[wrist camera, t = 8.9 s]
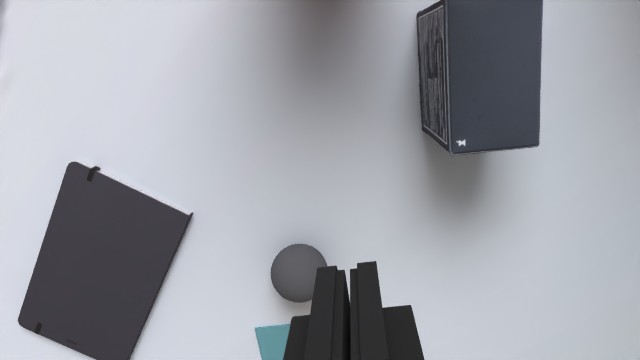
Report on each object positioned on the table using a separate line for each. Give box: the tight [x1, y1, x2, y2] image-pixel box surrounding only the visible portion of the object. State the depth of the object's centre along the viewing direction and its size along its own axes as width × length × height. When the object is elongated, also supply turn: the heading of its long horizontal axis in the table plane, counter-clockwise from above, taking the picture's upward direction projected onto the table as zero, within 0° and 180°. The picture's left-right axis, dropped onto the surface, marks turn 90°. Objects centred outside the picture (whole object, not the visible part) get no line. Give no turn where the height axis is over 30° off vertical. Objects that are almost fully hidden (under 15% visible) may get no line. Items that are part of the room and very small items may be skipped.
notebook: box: [18, 162, 193, 360], centre depth 45 cm, size 13×2×21 cm
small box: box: [417, 0, 543, 156], centre depth 32 cm, size 11×6×10 cm, turn 7°
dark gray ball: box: [271, 244, 327, 302], centre depth 41 cm, size 6×6×6 cm
